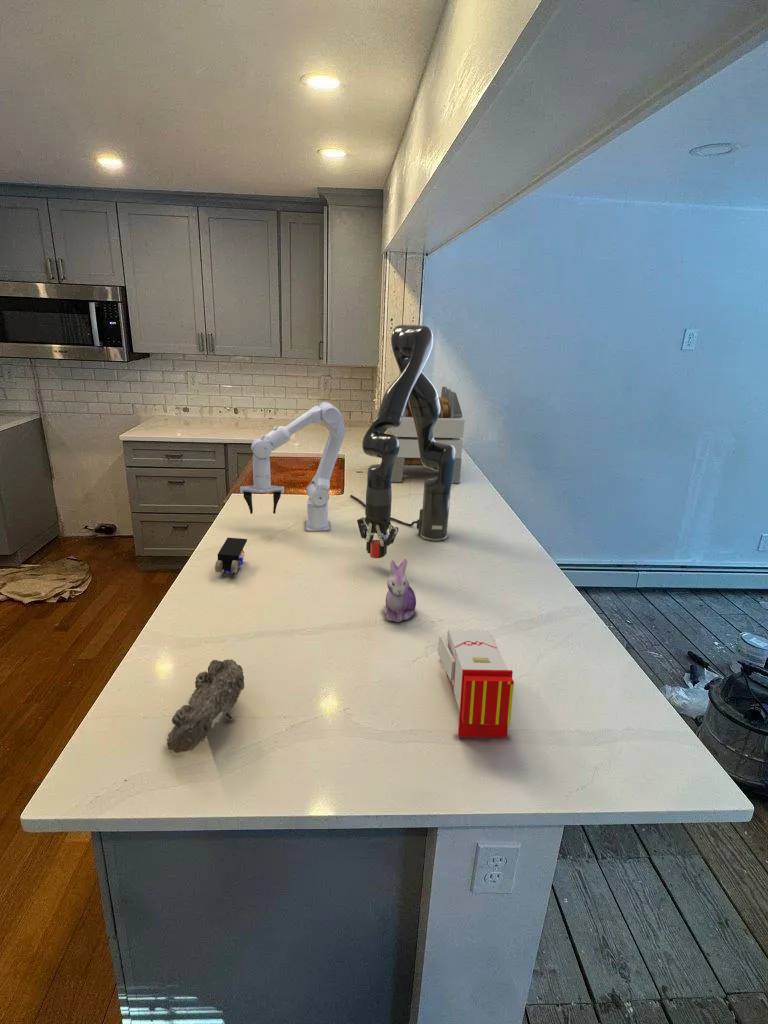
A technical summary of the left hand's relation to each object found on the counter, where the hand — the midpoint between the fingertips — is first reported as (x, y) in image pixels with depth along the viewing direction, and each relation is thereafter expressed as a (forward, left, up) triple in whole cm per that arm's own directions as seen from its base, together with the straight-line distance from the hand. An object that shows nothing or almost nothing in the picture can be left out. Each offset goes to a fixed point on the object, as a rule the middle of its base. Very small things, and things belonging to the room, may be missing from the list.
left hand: (263, 512), depth 195 cm
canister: (+32, +35, -3) cm, 48 cm away
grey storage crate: (-72, +71, -7) cm, 101 cm away
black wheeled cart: (+30, -8, -7) cm, 32 cm away
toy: (+92, +46, -7) cm, 104 cm away
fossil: (+95, -5, -7) cm, 95 cm away
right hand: (+32, +35, -2) cm, 48 cm away
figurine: (+60, +37, -7) cm, 71 cm away
